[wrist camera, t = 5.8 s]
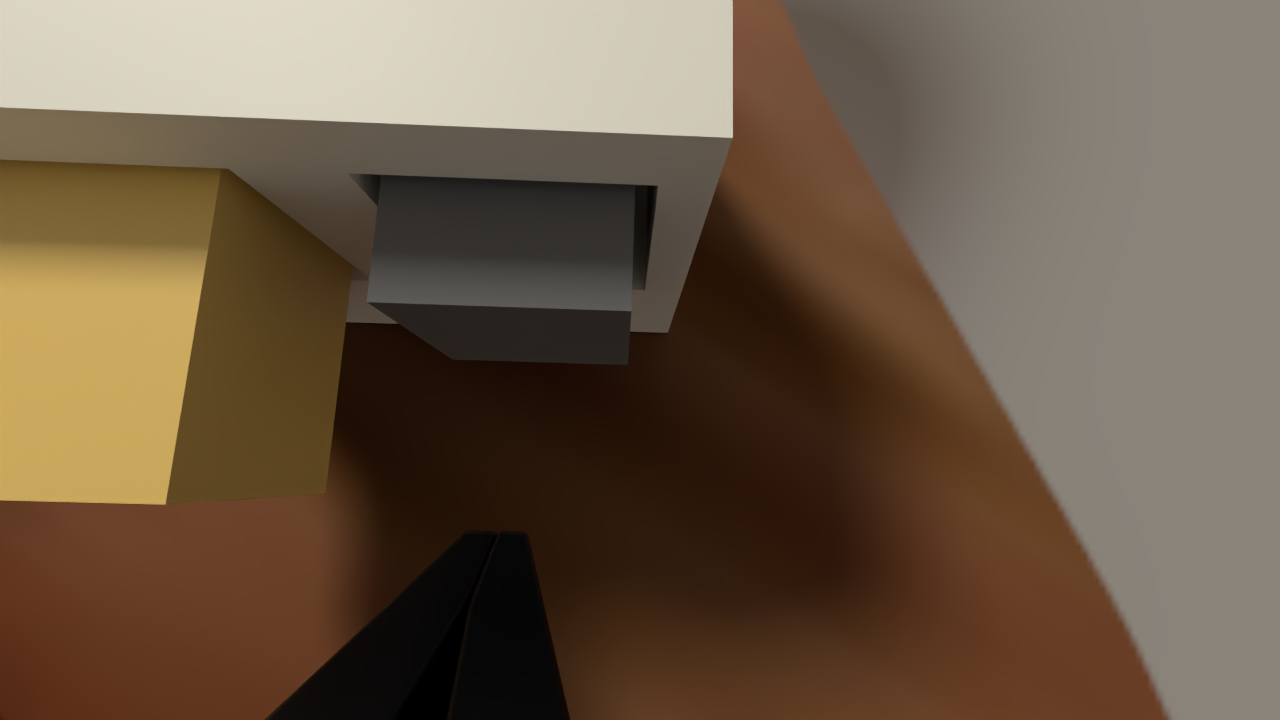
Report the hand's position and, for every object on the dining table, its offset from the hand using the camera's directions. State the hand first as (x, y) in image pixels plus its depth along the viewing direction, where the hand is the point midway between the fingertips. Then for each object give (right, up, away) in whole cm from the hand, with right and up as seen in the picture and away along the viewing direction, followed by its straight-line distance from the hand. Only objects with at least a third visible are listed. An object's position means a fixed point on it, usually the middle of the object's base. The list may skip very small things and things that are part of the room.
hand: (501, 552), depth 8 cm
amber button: (-6, +2, +3) cm, 7 cm away
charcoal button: (0, +5, +4) cm, 6 cm away
